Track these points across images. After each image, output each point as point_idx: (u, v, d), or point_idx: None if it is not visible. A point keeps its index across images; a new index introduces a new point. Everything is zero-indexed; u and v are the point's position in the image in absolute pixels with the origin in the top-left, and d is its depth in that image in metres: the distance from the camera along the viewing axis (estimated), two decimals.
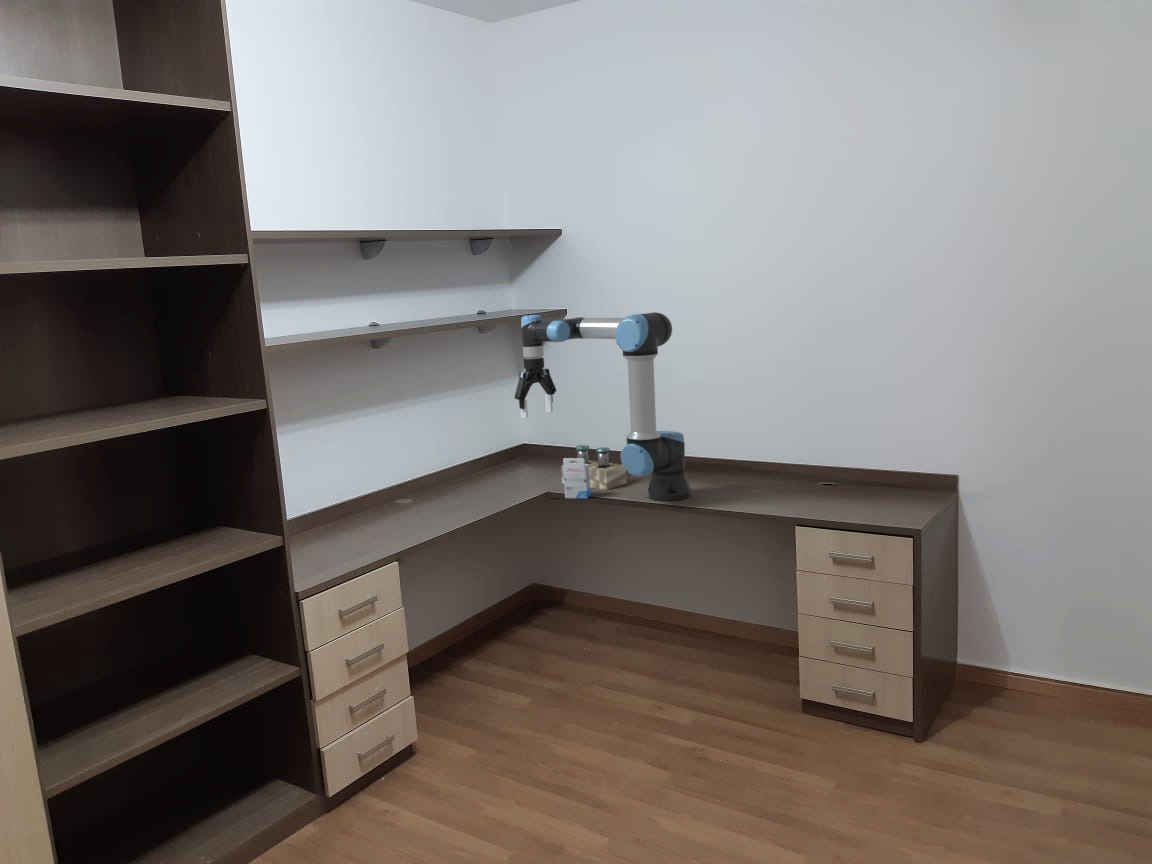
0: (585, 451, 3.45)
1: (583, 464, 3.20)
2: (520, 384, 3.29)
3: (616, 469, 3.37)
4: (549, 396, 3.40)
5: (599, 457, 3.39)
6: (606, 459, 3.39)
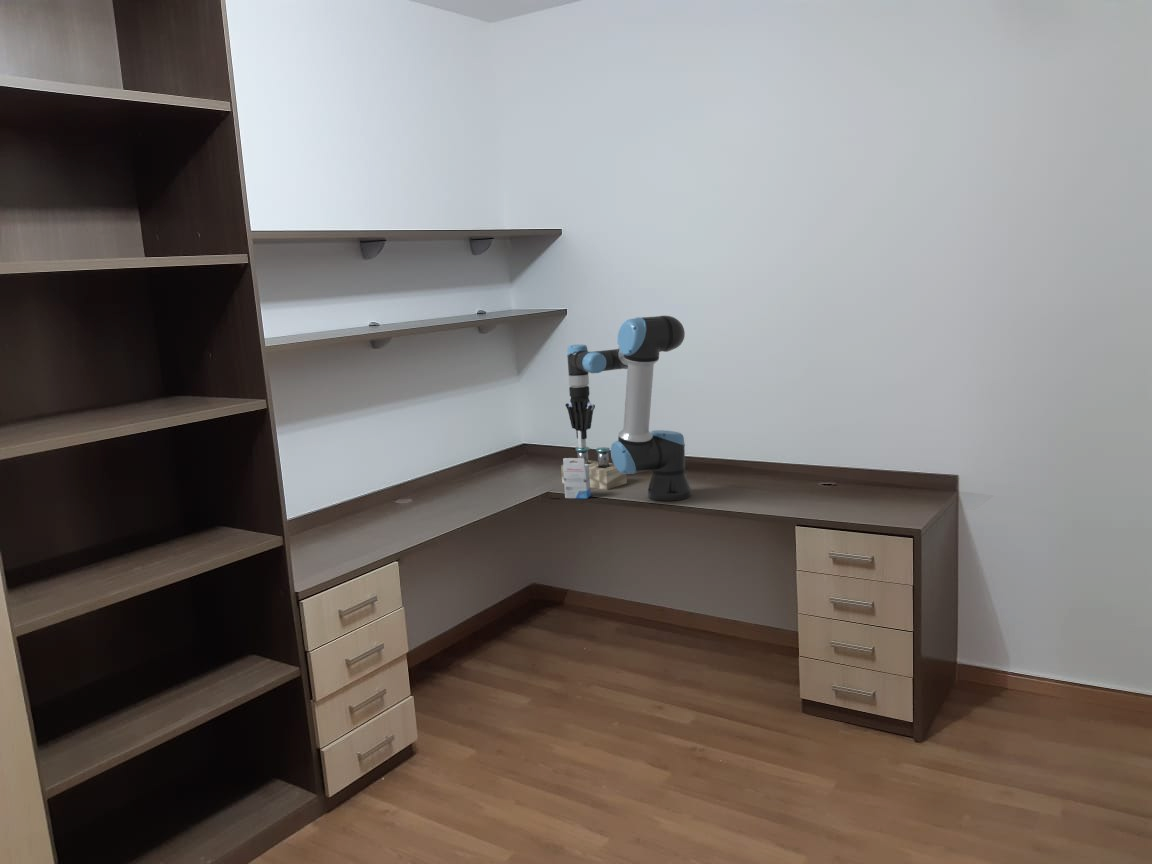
0: (585, 452, 3.45)
1: (583, 464, 3.20)
2: None
3: (616, 469, 3.37)
4: None
5: (599, 457, 3.39)
6: (606, 459, 3.39)
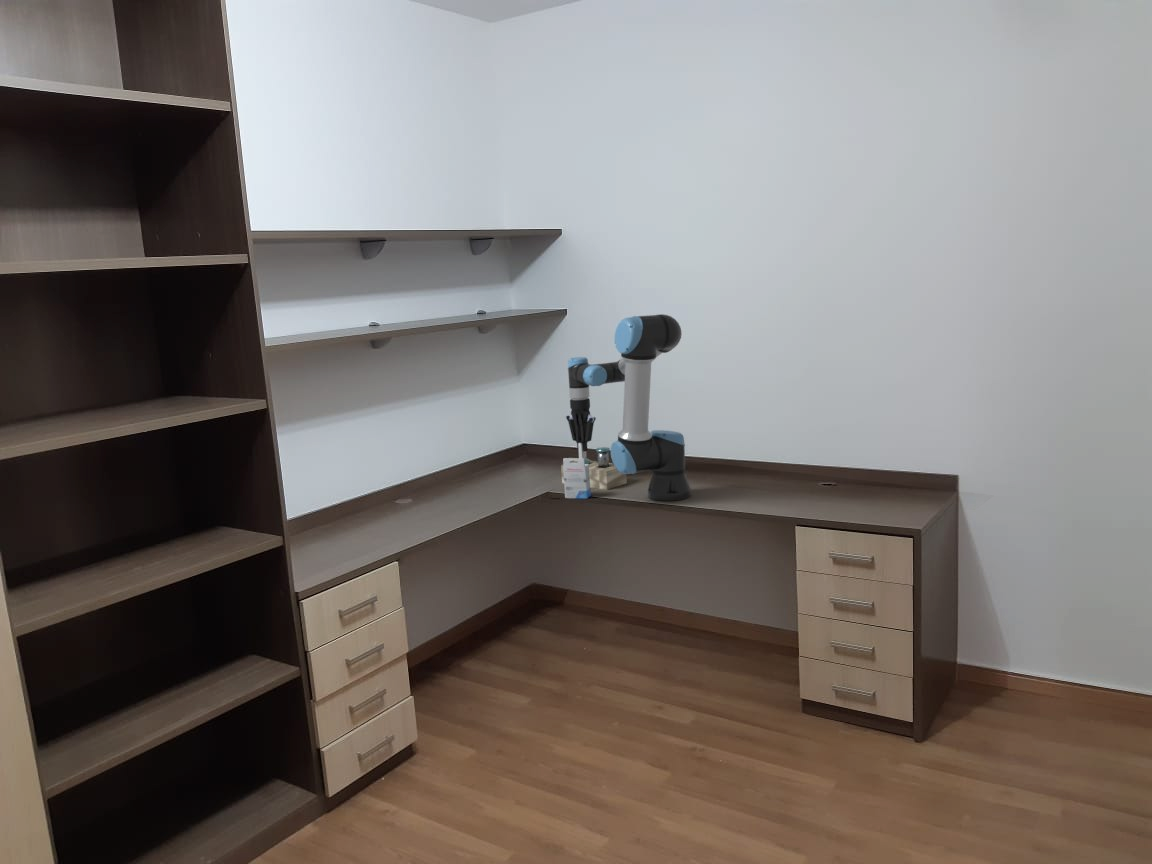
0: None
1: (583, 464, 3.20)
2: None
3: (616, 469, 3.37)
4: None
5: (599, 457, 3.39)
6: (606, 459, 3.39)
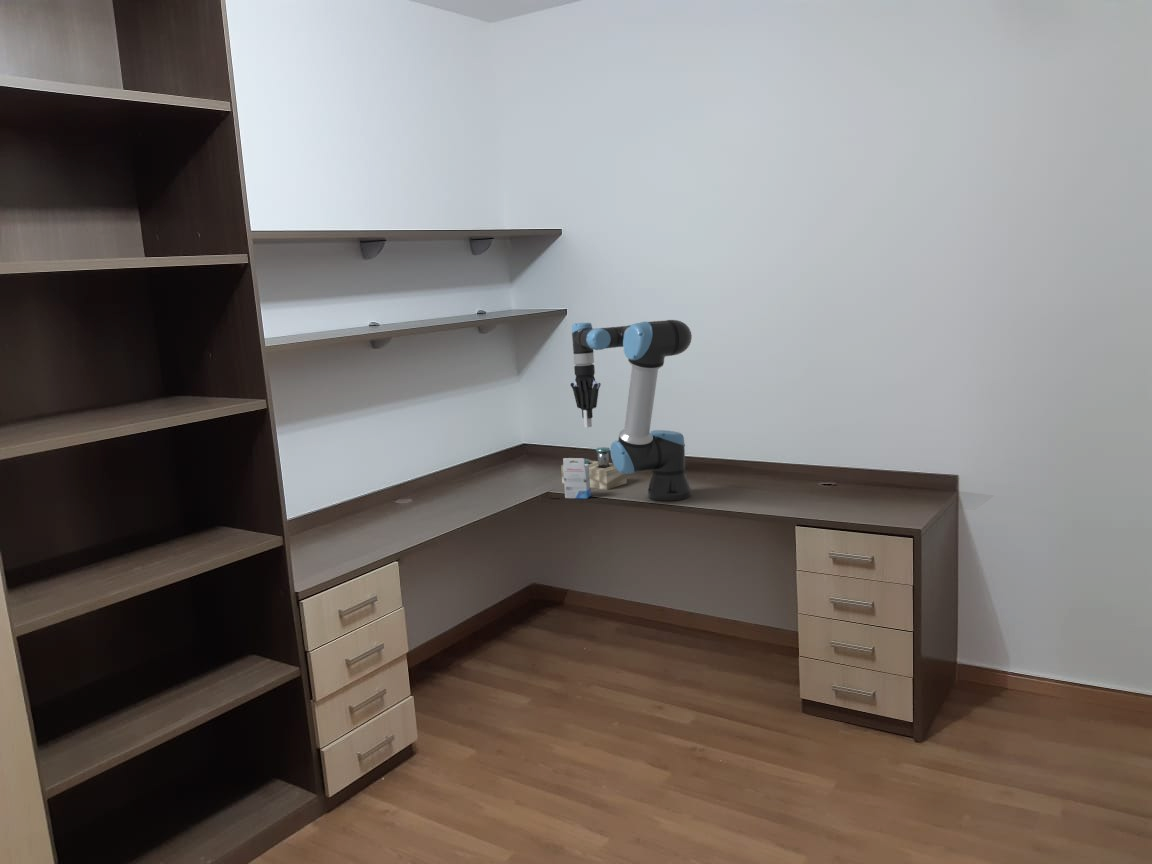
0: None
1: (583, 464, 3.20)
2: None
3: (616, 469, 3.37)
4: None
5: (599, 457, 3.39)
6: (606, 459, 3.39)
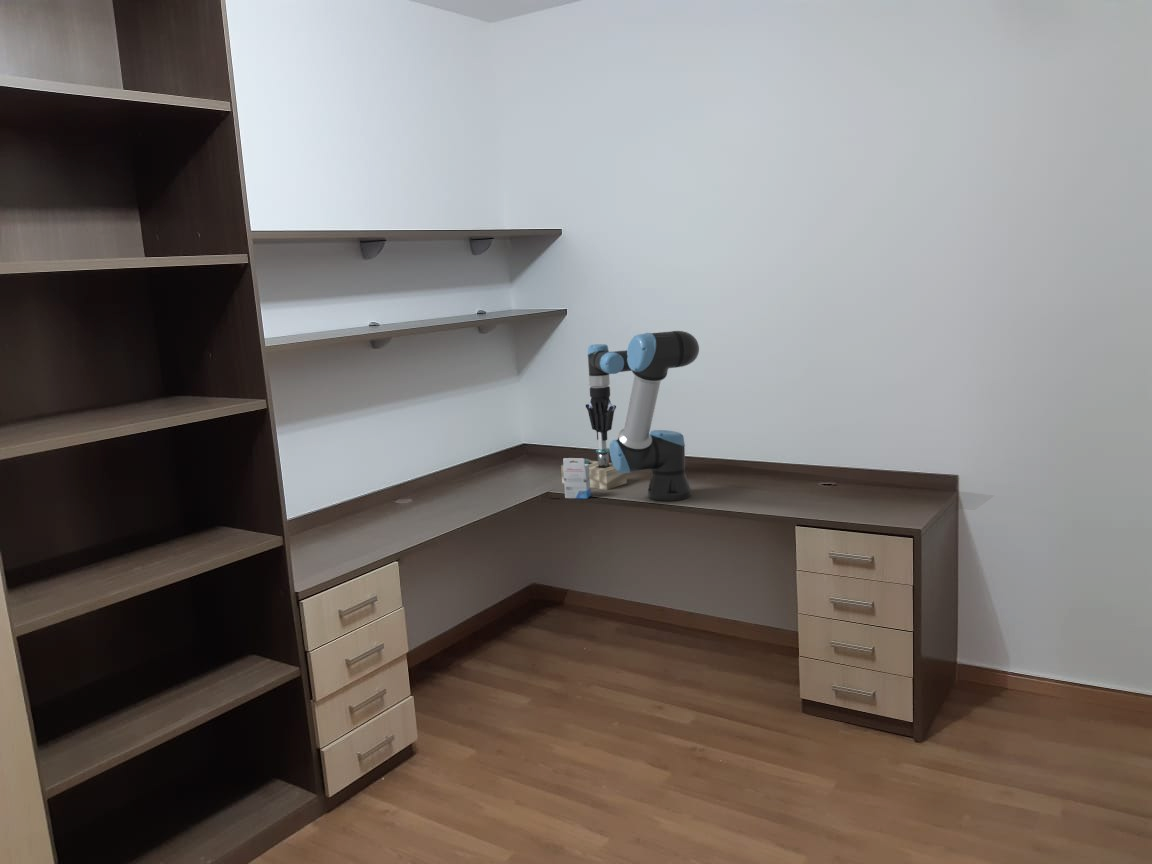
0: None
1: (583, 464, 3.20)
2: None
3: None
4: None
5: (599, 458, 3.39)
6: (606, 460, 3.39)
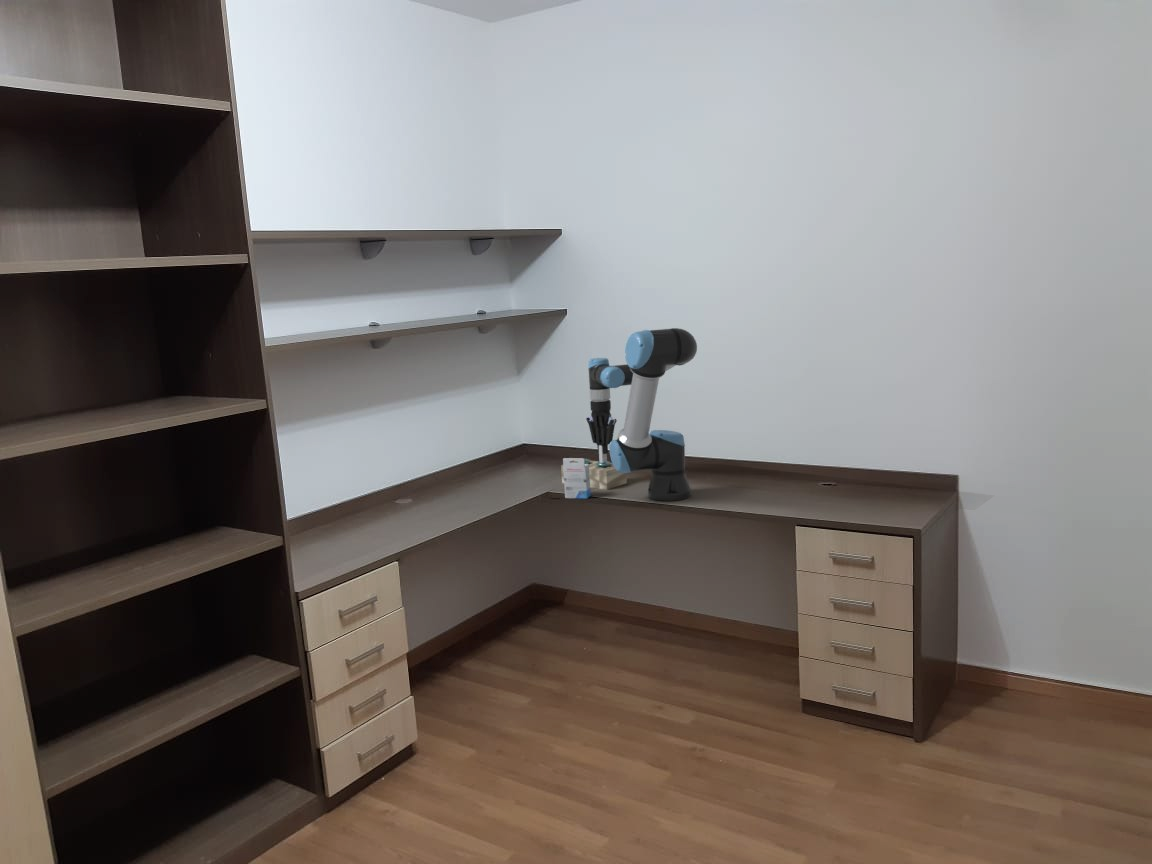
0: None
1: (583, 464, 3.20)
2: None
3: None
4: None
5: None
6: None
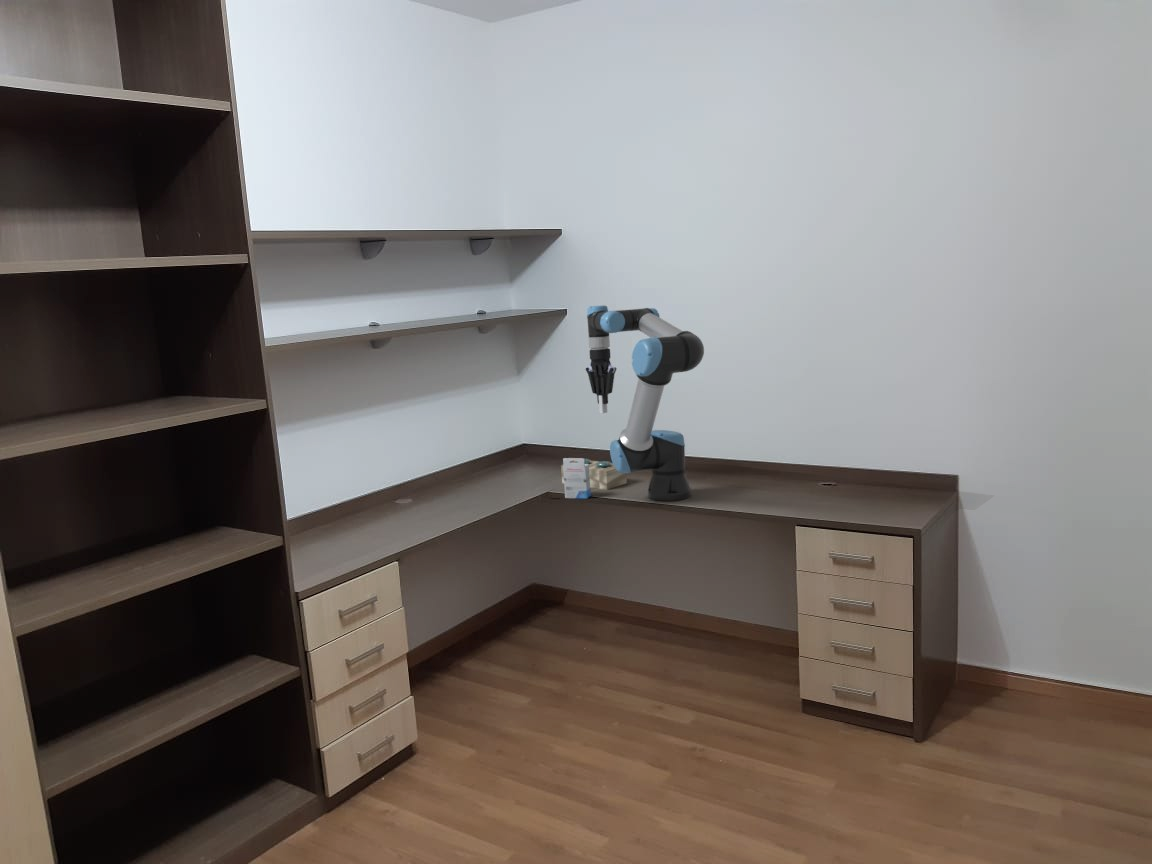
0: None
1: (583, 464, 3.20)
2: None
3: None
4: None
5: None
6: None
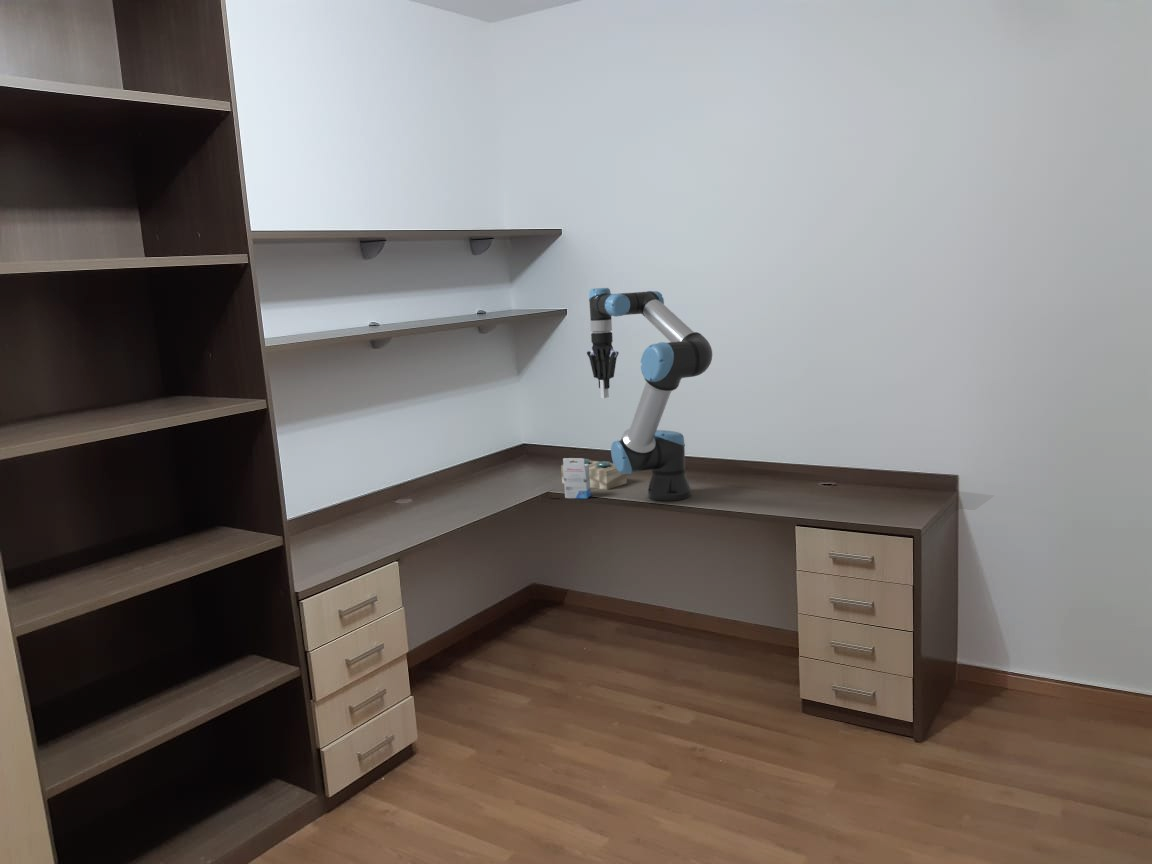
0: None
1: (583, 464, 3.20)
2: None
3: (616, 469, 3.37)
4: None
5: None
6: None
